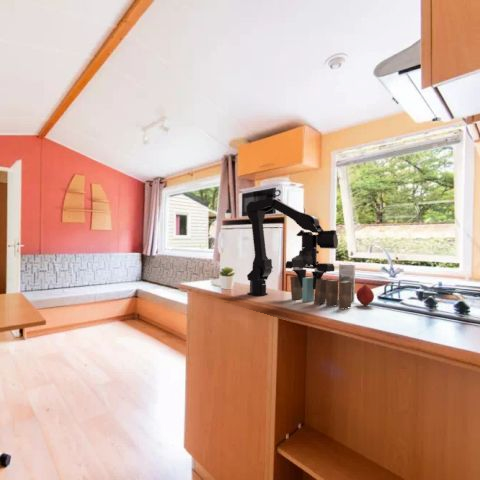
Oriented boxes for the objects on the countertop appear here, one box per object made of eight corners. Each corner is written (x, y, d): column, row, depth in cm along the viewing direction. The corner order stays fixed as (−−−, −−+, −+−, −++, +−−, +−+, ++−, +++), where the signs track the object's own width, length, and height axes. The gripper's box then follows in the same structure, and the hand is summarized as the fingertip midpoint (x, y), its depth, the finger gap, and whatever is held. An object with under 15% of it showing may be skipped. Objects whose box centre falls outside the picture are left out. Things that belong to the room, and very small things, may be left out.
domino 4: (325, 305, 107) (326, 280, 107) (332, 304, 110) (333, 279, 110) (331, 306, 105) (331, 281, 105) (337, 305, 109) (338, 280, 109)
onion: (353, 304, 111) (353, 282, 111) (368, 304, 111) (368, 282, 111) (361, 307, 105) (361, 284, 105) (376, 307, 105) (377, 284, 106)
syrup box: (354, 299, 121) (355, 263, 121) (353, 301, 116) (354, 264, 116) (339, 298, 123) (340, 262, 124) (338, 300, 118) (338, 263, 118)
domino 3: (313, 303, 110) (316, 279, 110) (320, 301, 114) (323, 278, 113) (318, 304, 109) (321, 280, 108) (325, 302, 112) (328, 279, 112)
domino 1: (291, 299, 118) (290, 276, 118) (298, 298, 121) (297, 275, 122) (295, 299, 116) (294, 276, 117) (303, 298, 119) (301, 275, 120)
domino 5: (338, 308, 103) (339, 282, 103) (345, 306, 106) (346, 281, 107) (344, 309, 102) (344, 282, 102) (351, 307, 105) (351, 281, 105)
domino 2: (302, 301, 114) (302, 277, 114) (309, 300, 117) (309, 277, 117) (306, 302, 113) (307, 278, 113) (313, 300, 116) (314, 277, 116)
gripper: (277, 247, 116) (276, 287, 116) (319, 248, 103) (318, 294, 103) (294, 247, 124) (293, 285, 124) (335, 248, 111) (334, 291, 110)
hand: (308, 288), depth 115 cm, fingers open, 5 cm apart
